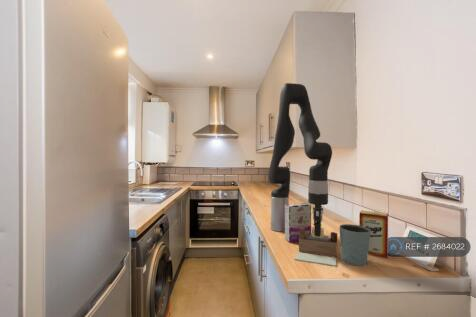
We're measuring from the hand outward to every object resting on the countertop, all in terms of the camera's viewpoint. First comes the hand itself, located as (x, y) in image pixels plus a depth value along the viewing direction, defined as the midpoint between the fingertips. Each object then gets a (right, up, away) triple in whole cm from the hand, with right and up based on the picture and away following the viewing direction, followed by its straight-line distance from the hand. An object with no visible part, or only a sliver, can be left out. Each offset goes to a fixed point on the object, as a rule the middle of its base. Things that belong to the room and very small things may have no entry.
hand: (317, 233), depth 94 cm
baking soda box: (+22, -8, 0) cm, 24 cm away
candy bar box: (-5, -7, +13) cm, 16 cm away
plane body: (0, -7, 0) cm, 7 cm away
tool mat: (-4, -7, -8) cm, 11 cm away
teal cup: (+10, -7, -9) cm, 15 cm away
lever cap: (0, -2, 0) cm, 2 cm away
